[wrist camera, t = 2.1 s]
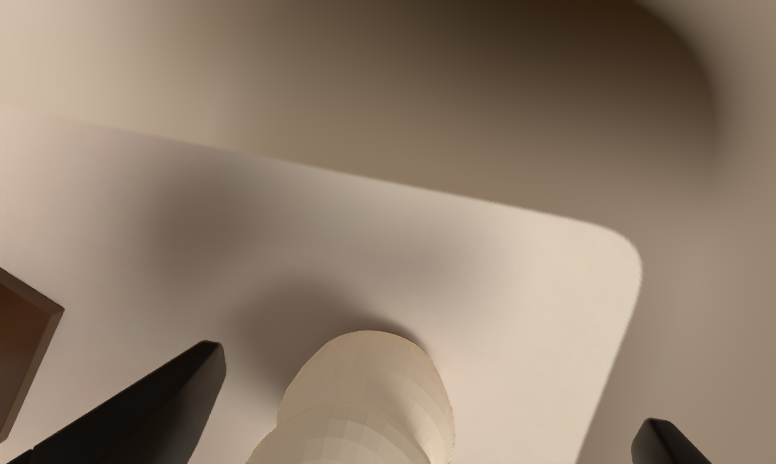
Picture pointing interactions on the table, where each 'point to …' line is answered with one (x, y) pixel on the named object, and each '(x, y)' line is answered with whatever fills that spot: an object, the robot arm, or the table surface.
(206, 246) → the table surface
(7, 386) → the stand
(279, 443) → the cat figurine
